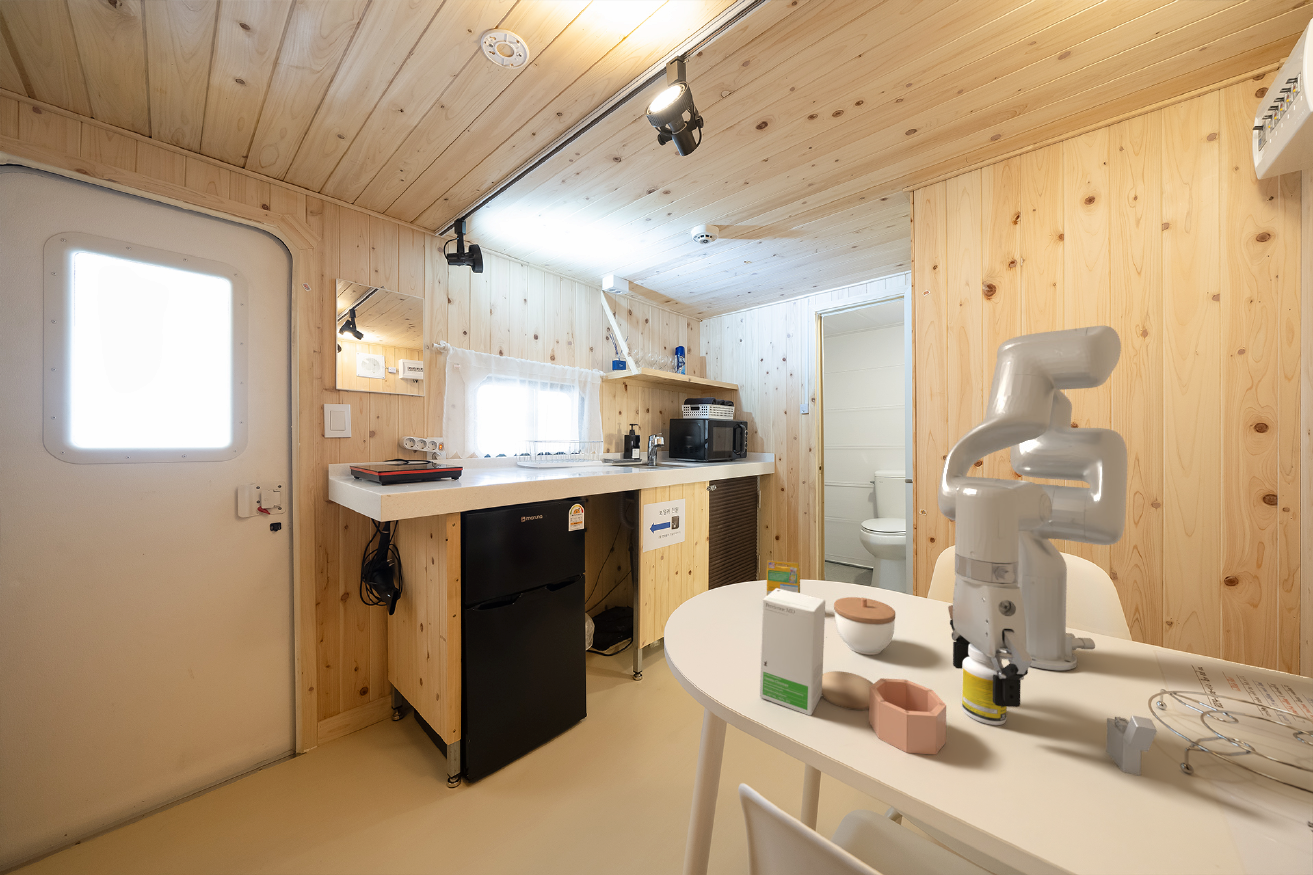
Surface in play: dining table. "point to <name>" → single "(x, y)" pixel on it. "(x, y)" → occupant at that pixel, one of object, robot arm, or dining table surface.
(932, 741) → the terracotta octagonal planter pot
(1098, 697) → the dining table surface
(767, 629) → the skincare box
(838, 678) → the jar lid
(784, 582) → the crayon box
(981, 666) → the supplement bottle
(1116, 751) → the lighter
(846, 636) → the lidded jar
